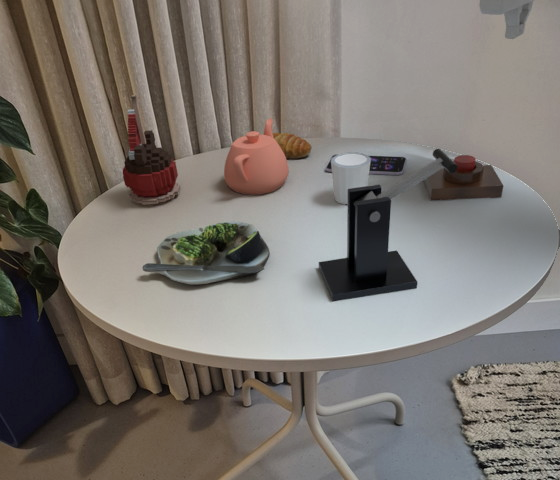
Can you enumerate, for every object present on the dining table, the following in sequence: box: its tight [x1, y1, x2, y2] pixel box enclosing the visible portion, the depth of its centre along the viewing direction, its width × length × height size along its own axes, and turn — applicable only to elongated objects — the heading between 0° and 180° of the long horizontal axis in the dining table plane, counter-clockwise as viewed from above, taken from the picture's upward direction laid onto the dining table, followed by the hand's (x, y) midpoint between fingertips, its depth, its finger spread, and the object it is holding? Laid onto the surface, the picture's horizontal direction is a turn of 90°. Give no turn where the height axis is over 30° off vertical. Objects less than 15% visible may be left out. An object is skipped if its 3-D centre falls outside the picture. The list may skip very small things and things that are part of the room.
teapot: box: [223, 117, 290, 195], centre depth 108 cm, size 12×18×10 cm
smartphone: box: [325, 153, 408, 176], centre depth 113 cm, size 8×1×15 cm
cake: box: [122, 94, 181, 205], centre depth 103 cm, size 11×9×18 cm
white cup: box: [331, 151, 371, 205], centre depth 101 cm, size 7×7×7 cm
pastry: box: [272, 132, 313, 160], centre depth 119 cm, size 9×7×4 cm
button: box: [453, 154, 477, 171], centre depth 100 cm, size 4×4×2 cm
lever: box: [354, 148, 458, 207], centre depth 74 cm, size 13×6×2 cm, turn 99°
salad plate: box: [142, 220, 271, 285], centre depth 88 cm, size 19×18×5 cm
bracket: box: [318, 184, 418, 302], centre depth 79 cm, size 12×9×13 cm
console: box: [422, 159, 504, 202], centre depth 101 cm, size 12×9×4 cm
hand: (513, 36), depth 91 cm, fingers closed
